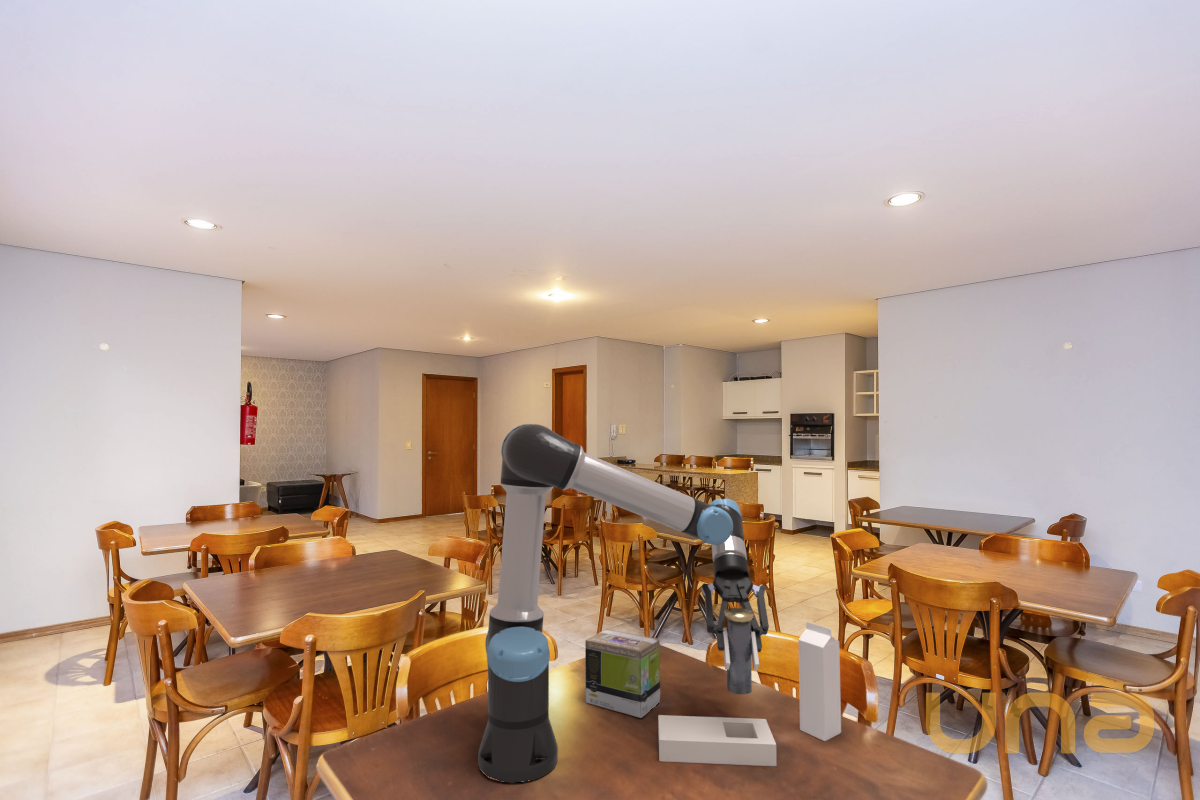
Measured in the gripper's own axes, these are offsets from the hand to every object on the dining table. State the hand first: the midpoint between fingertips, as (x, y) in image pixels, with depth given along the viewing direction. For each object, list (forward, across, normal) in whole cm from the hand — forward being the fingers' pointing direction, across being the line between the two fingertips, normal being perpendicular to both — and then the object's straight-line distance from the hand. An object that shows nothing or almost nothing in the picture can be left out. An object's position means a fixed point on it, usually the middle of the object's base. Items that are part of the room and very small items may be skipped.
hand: (742, 666), depth 115 cm
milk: (+4, -18, -22) cm, 28 cm away
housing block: (+10, +5, -15) cm, 19 cm away
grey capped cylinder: (+1, 0, -7) cm, 7 cm away
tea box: (-3, +24, -29) cm, 38 cm away
